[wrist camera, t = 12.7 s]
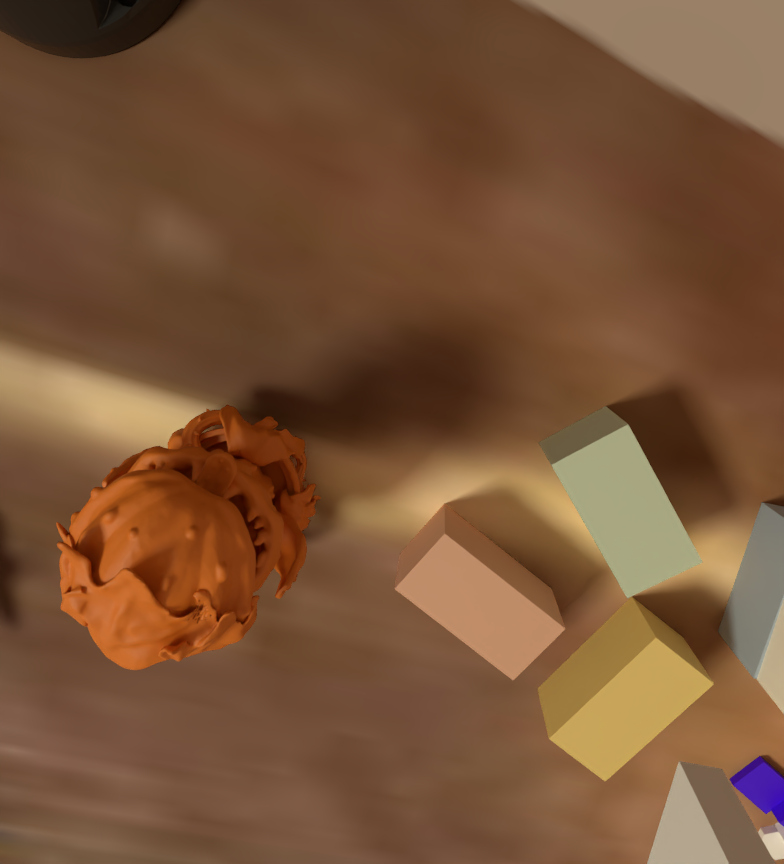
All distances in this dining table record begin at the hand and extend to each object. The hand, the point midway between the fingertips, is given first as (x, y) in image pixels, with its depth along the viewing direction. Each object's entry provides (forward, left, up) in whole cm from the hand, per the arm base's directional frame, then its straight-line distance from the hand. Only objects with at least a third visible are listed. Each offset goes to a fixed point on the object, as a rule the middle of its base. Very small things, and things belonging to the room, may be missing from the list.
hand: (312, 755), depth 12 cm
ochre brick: (+14, +16, -29) cm, 36 cm away
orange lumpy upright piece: (+5, -9, -29) cm, 31 cm away
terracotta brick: (+9, +6, -29) cm, 31 cm away
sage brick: (+2, +13, -29) cm, 32 cm away
